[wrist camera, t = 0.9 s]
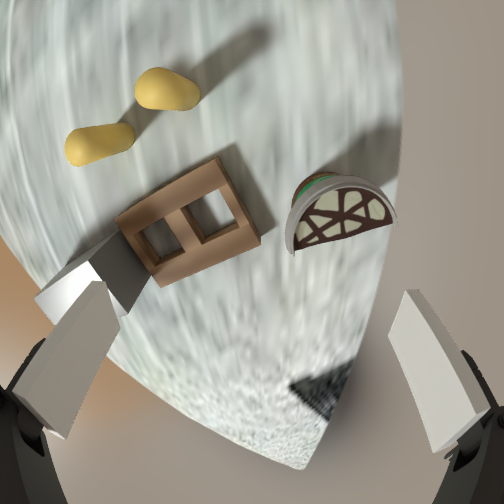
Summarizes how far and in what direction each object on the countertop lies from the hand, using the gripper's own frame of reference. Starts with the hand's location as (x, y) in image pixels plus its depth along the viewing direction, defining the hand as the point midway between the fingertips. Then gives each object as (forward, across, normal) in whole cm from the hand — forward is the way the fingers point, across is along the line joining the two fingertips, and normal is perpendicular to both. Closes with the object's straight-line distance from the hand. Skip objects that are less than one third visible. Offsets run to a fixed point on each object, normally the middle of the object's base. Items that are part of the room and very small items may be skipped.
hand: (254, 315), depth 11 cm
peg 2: (+25, -9, +11) cm, 29 cm away
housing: (+25, -25, -14) cm, 38 cm away
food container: (+25, +8, 0) cm, 26 cm away
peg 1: (+25, -18, +7) cm, 31 cm away
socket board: (+25, -10, -6) cm, 27 cm away
